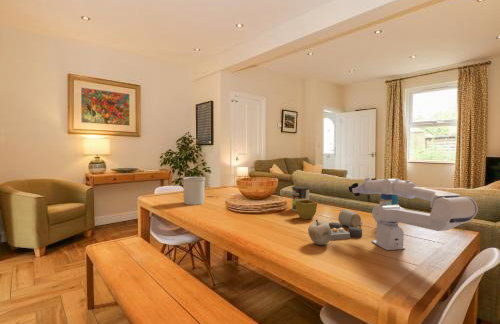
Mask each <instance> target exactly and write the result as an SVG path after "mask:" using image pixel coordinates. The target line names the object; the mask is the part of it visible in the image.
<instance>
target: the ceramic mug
mask: <svg viewBox="0 0 500 324" xmlns="http://www.w3.org/2000/svg"><path fill="white" fill-rule="evenodd" d="M337 219H338V223H340V224H341V226H342V225H343V226H345V227H348V228H349V227H357V228H359V227H360V226H362V225H363V222H362V217H361V216H360V214H358V213H356V212H355V211H351V210H349V209H342V210H341V211H340V212H339V214H338V217H337Z"/></svg>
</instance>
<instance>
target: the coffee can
mask: <svg viewBox="0 0 500 324" xmlns="http://www.w3.org/2000/svg"><path fill="white" fill-rule="evenodd" d="M291 188H292V201H291V202H292V205H291V206H292V208H291V210H292V211H294V212H297V210H296V202H295V201H298V200H310V187H309V186H307V185H294V186H293V185H292V187H291Z"/></svg>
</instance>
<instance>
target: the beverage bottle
mask: <svg viewBox="0 0 500 324" xmlns="http://www.w3.org/2000/svg"><path fill="white" fill-rule="evenodd" d="M399 199H400V198H399V196H398V195H395V194H389V195H386V194H380V196H379V200H380V201H379V204H378V206H387V205H399ZM399 206H400V205H399Z"/></svg>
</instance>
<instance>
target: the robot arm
mask: <svg viewBox="0 0 500 324" xmlns="http://www.w3.org/2000/svg"><path fill="white" fill-rule="evenodd" d="M348 190H349V192H350V193H352V194H353V195H354V196H355V197H359V196H361V194H365V195H373V194H374V195H375V194H376V195H379V194H380V195H381V194H386V195H389V194H395V195H397V196H398V197H401V198H406V199H411V200H412V199H414V198H418V199H422V200H425V201H428V202H430V204H429V206H430V208H431V210H430V213H429V212H422V211H416V210H410V209H406V208H405V207H401V206H400V205H387V206H380V205H374V206H373V208H372V210H371V215H372V218H373V220H374V221H375V223H376V239H374V240H371V243H373V244H375V245H377V246H378V247H380V248H382V249H384V250H386V251H391V250H392V251H393V250H395V251H396V250H405V249H406V247H405V246H404V237H405V236H404V235H405V233H404V229H403V228H401V226H399V224H405V225H410V226H412V227H413V226H414V227H418V228H424V229H426V230H431V231H435V232H444V231H446V232H447V231H449V230H451V229H453V228H456V227H458V226H461V225H462V224H466V223H468V222H472V220H473V219H474V218H475V217H476V216H477V214H478V211H479V206H478V204H477V202H476V201H475V199H474V198H473V197H470V196H467V195H466V196H465V195H464V196H462V194H459V193H457V192H456V193H455V192H451V191H450V192H449V191H445V190H440V189H439V190H438V189H432V188H426V187H419V185H418V184H417V183H415V182H413V181H412V180H411V179H405V180H402V179H401V178H384V179H383V178H382V179H377V177H375V178H374V177H373V178H370V177H365V178H364V180H363V182H361V184H359V182H354V183H352V184H351V185H350V186H348Z"/></svg>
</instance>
